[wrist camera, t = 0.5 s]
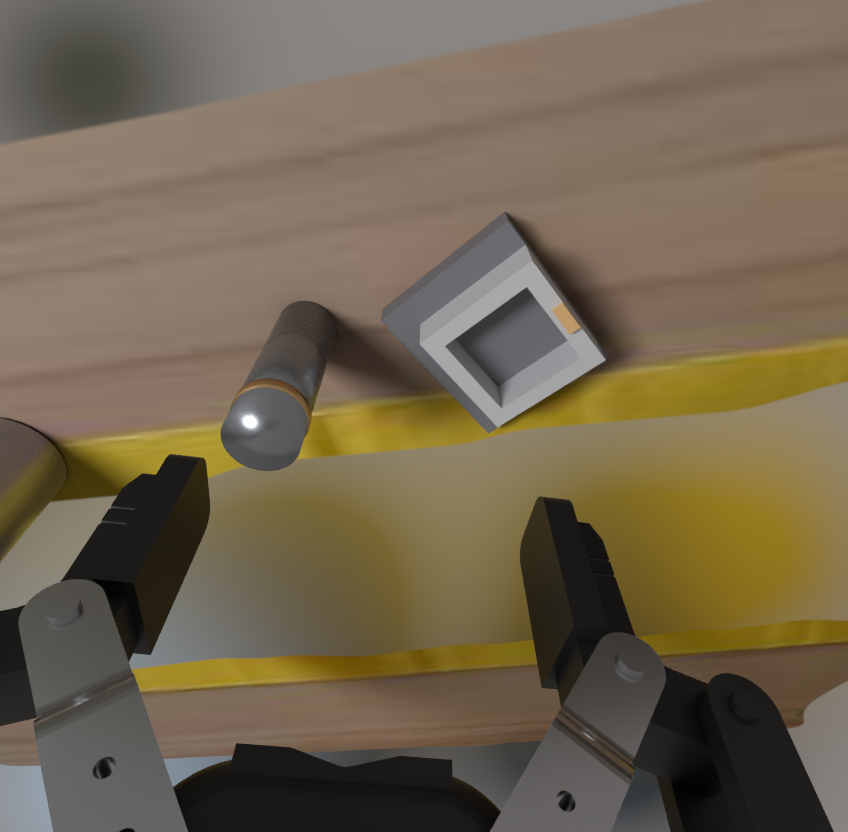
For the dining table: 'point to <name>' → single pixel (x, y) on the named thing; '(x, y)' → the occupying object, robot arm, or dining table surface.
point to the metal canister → (281, 390)
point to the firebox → (494, 326)
